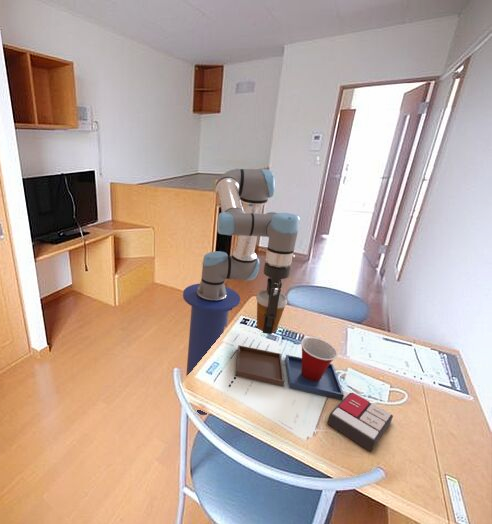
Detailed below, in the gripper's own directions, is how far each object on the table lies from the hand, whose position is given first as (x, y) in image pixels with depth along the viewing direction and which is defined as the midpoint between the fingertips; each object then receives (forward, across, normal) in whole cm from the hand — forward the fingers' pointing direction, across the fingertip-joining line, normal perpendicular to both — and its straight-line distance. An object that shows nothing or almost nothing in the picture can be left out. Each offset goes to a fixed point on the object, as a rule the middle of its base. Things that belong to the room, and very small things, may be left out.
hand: (266, 326), depth 103 cm
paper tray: (+17, 0, 0) cm, 17 cm away
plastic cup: (+17, 0, -17) cm, 24 cm away
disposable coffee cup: (+1, 0, 0) cm, 1 cm away
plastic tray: (+17, 0, -17) cm, 24 cm away
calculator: (+17, -16, -27) cm, 36 cm away
